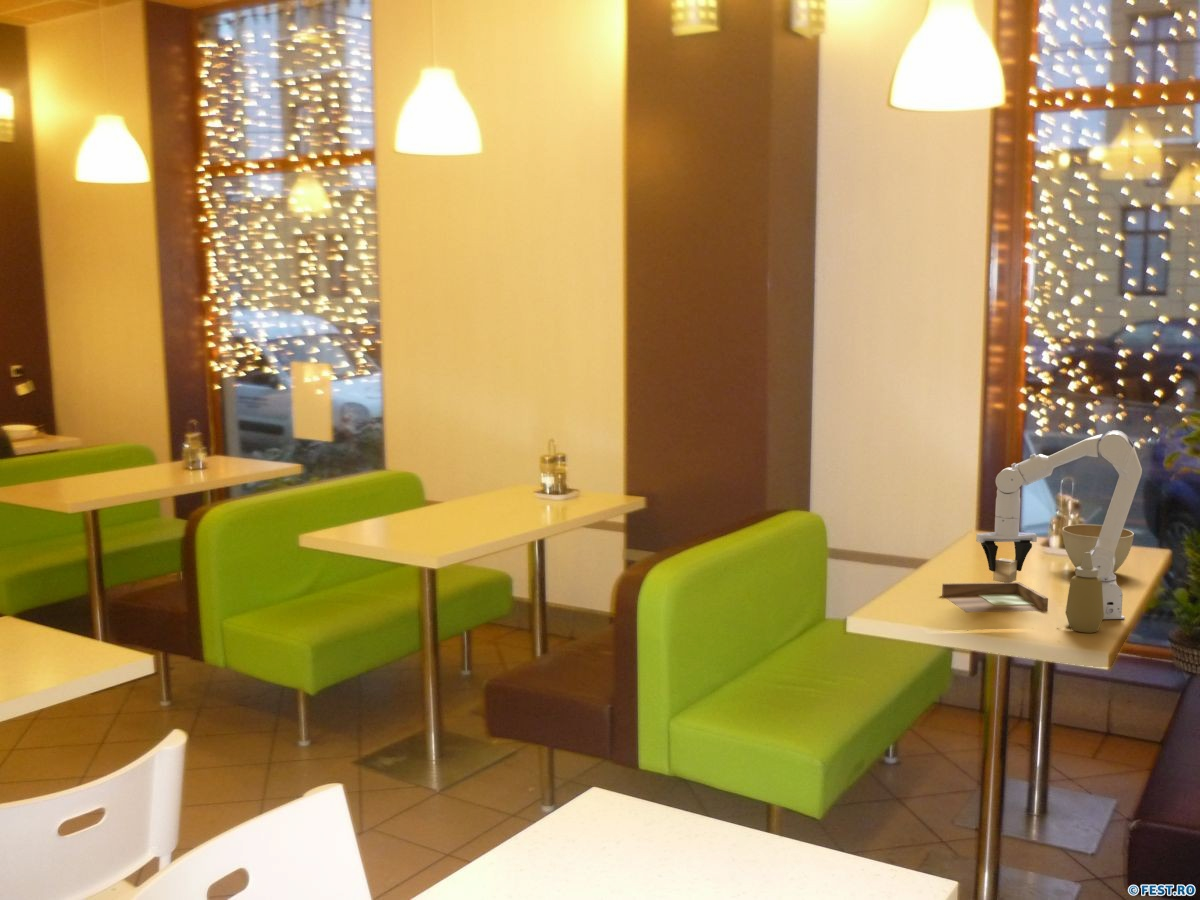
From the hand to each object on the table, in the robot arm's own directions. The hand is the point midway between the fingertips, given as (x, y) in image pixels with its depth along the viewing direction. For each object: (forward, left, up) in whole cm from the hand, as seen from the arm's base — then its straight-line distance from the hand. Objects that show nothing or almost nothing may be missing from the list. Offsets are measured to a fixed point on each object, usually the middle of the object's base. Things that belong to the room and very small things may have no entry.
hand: (1005, 570), depth 281 cm
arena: (-2, +3, -8) cm, 9 cm away
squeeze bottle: (-24, -9, -9) cm, 27 cm away
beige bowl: (+29, -39, -9) cm, 49 cm away
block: (0, 0, -2) cm, 3 cm away
